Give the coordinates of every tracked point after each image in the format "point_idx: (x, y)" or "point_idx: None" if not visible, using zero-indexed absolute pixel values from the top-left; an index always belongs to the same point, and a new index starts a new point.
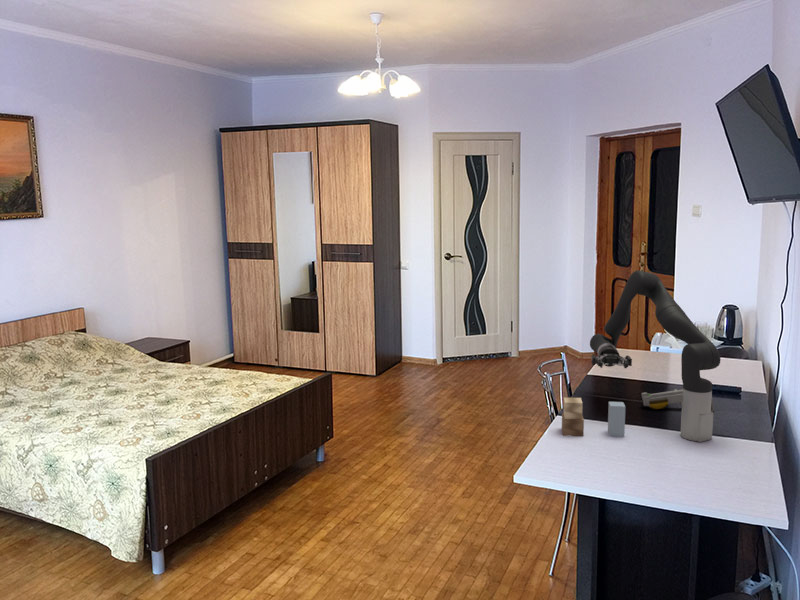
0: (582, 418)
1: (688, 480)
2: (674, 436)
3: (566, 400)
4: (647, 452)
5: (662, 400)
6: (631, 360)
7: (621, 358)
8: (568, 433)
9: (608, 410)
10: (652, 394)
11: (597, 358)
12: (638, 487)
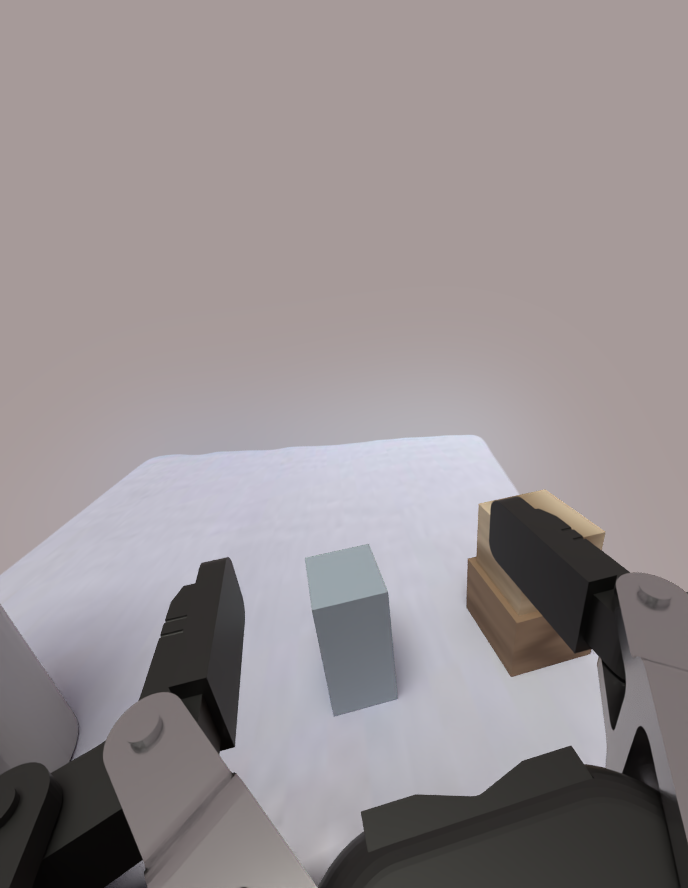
0: (481, 571)
1: (219, 492)
2: None
3: (558, 506)
4: (265, 564)
5: None
6: (3, 792)
7: (214, 790)
8: None
9: (389, 623)
10: None
11: None
12: (305, 458)
